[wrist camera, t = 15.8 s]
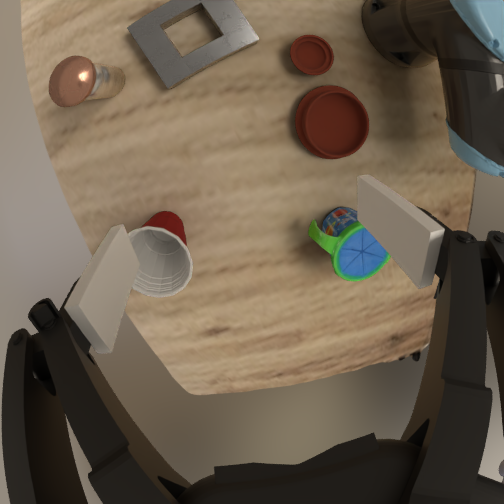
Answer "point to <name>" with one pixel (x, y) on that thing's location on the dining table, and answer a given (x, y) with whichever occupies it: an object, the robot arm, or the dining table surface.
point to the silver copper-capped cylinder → (83, 81)
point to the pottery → (327, 106)
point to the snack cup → (349, 245)
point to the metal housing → (180, 69)
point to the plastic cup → (161, 256)
